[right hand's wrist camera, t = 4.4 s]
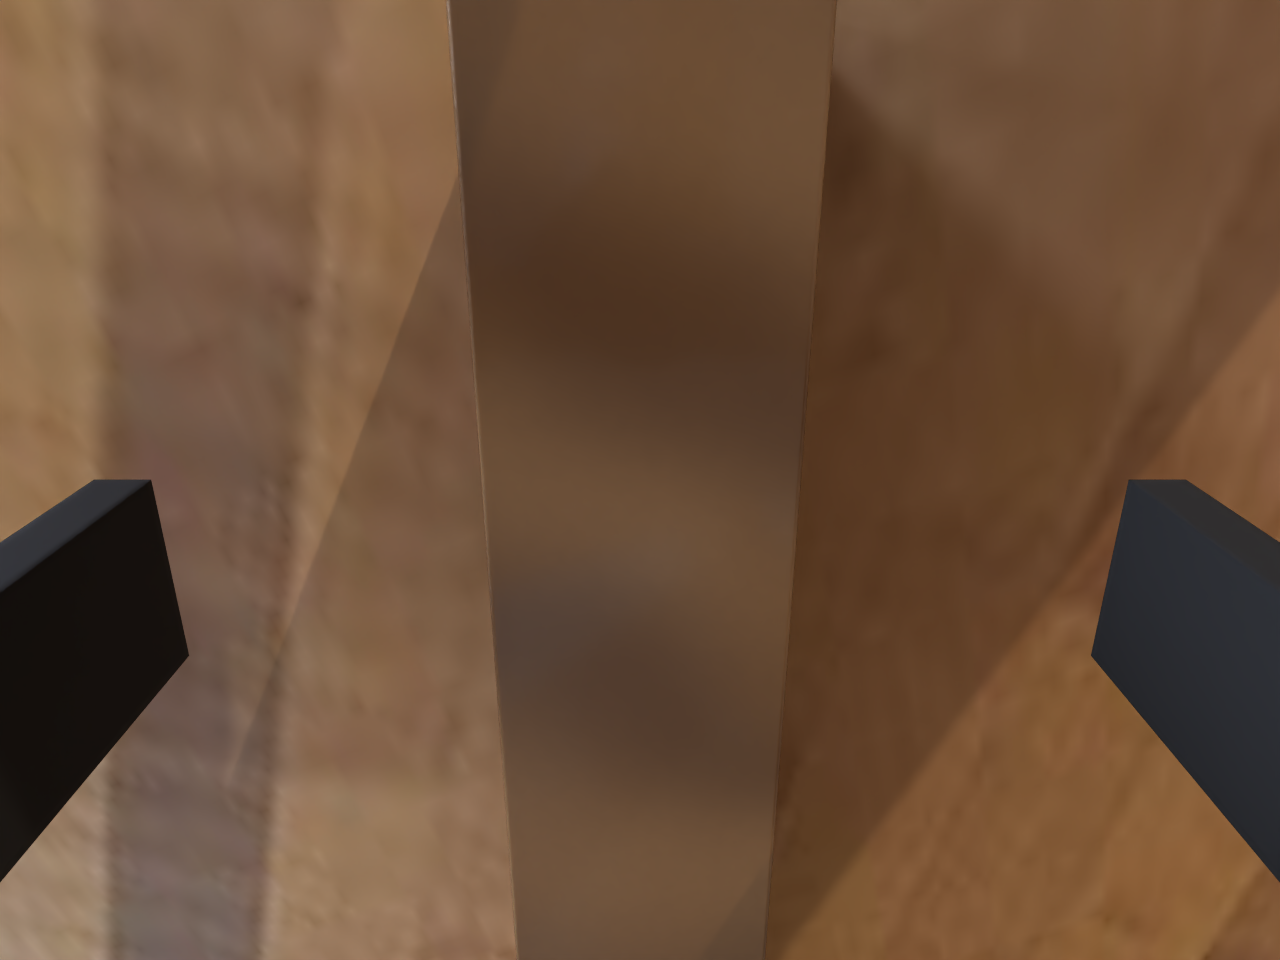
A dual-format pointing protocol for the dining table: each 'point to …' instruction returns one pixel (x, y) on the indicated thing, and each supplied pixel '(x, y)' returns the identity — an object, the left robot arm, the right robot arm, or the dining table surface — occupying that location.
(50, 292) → the dining table surface
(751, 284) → the post
